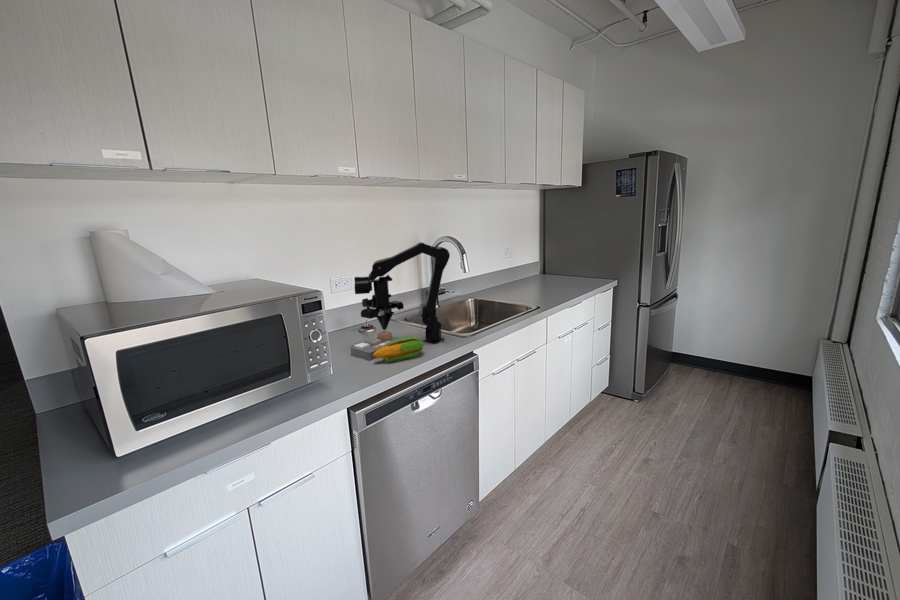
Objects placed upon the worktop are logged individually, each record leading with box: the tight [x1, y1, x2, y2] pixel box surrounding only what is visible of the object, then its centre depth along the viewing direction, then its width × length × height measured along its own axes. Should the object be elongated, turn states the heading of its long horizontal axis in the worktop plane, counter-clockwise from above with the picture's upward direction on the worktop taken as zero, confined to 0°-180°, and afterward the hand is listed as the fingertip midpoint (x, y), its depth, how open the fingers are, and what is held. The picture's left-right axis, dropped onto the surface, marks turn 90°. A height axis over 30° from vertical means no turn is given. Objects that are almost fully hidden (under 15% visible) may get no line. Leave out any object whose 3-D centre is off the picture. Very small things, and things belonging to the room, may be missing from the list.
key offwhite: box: [353, 342, 370, 350], centre depth 156 cm, size 4×4×4 cm
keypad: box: [349, 336, 400, 361], centre depth 159 cm, size 18×11×3 cm, turn 143°
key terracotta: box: [376, 330, 393, 341], centre depth 165 cm, size 4×4×4 cm
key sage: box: [365, 337, 382, 345], centre depth 160 cm, size 4×4×4 cm
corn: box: [373, 336, 424, 363], centre depth 150 cm, size 7×8×20 cm
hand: (384, 329), depth 164 cm, fingers closed
